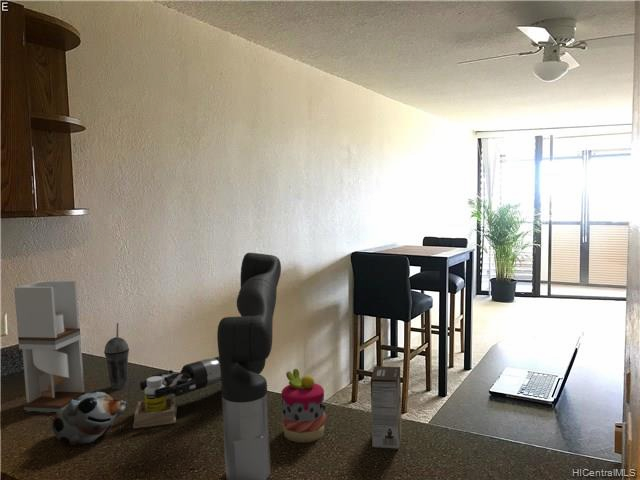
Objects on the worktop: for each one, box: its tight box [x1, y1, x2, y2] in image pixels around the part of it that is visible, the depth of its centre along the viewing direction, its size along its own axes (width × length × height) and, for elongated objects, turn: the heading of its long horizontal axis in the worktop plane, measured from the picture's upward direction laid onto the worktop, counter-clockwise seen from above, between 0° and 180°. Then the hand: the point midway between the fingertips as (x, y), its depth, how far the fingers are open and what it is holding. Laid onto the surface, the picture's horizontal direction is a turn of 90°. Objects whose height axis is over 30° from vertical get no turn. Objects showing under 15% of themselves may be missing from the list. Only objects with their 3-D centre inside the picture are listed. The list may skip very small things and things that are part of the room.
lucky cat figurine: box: [51, 391, 127, 446], centre depth 126 cm, size 15×12×14 cm
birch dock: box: [132, 396, 178, 429], centre depth 136 cm, size 11×10×3 cm
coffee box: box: [370, 366, 403, 450], centre depth 119 cm, size 9×6×16 cm
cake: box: [280, 368, 327, 443], centre depth 124 cm, size 10×11×15 cm
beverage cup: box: [103, 322, 130, 390], centre depth 159 cm, size 7×7×20 cm
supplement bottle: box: [143, 376, 167, 413], centre depth 136 cm, size 5×5×10 cm
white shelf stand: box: [13, 280, 86, 413], centre depth 146 cm, size 11×11×35 cm
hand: (147, 390), depth 135 cm, fingers open, 8 cm apart
